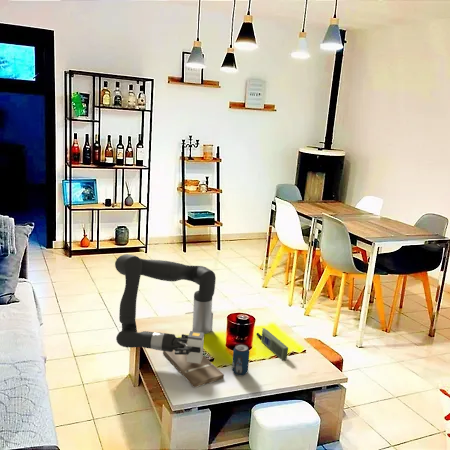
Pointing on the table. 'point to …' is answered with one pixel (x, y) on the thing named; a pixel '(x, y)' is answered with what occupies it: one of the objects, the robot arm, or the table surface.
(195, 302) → the robot arm
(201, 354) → the white tall block
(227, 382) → the table surface
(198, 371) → the subfloor panel
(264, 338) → the handheld radio
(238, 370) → the soda can
